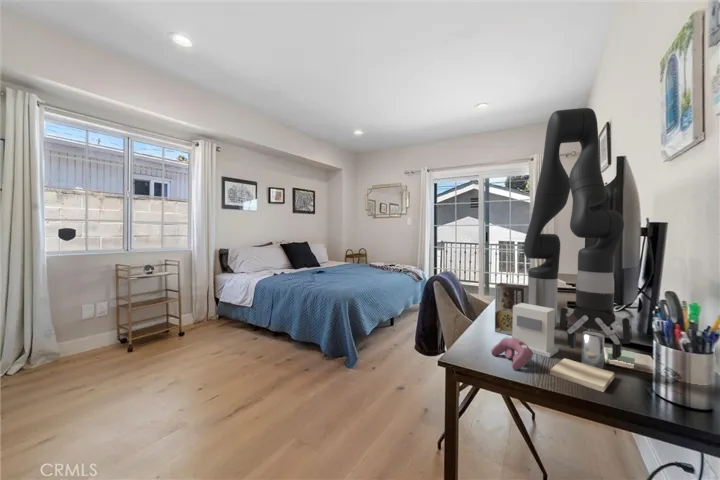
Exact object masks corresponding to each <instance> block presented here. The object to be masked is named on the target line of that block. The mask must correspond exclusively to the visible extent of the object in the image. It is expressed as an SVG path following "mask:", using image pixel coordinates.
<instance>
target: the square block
mask: <svg viewBox="0 0 720 480" xmlns="http://www.w3.org/2000/svg"><path fill="white" fill-rule="evenodd" d="M607 353H608V354H607V360H608V359H610V360H618V361H623V362H626V363H631V364H634V365H635V360H636V359H635V358H636V357H635V352H634V351H629V350H625V349H624V350H621V356H620V357H619V358H617V359H612V347H609V348H608V351H607Z"/></svg>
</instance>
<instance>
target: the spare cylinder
mask: <svg viewBox="0 0 720 480" xmlns="http://www.w3.org/2000/svg"><path fill="white" fill-rule="evenodd" d="M604 360H605V334H602V333H600V332H599V333H598V332H597V331H596V332H594V331H586V330H585V331H582V336H581V363H583V364H586V365H590V366H593V367H597V368H600V369H604V367H605V366H604V365H605V364H604V362H605V361H604Z"/></svg>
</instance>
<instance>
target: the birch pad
mask: <svg viewBox="0 0 720 480" xmlns="http://www.w3.org/2000/svg"><path fill="white" fill-rule="evenodd" d="M549 375H551V376H554V377H557V378H559V379H562V380H566V381H569V382H570V383H573V384H574V383H576V384H578V385H581V386H583V387H586V388H589V389H592V390H595V391H598V392H602V393H604V392H605V391H606V389H608V387H609V386H610V385H611V383H612V381H613V380H614V379H615V372H614V371H610V370H607V369H604V368H603V369H600V368H597V367H593V366H590V365H586V364H583V363H582V362H579V361H574V360H572V359H569V358H565V357H563V359H561V360H560V361H559V362H558V363H556V364H555V365H554V366H553V367H551V368H550V369H549Z"/></svg>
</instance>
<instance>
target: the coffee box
mask: <svg viewBox="0 0 720 480" xmlns="http://www.w3.org/2000/svg"><path fill="white" fill-rule="evenodd" d="M528 294H529V286H528V284H527V285H525V284H518V283H517V284H515V283H507V282H506V283H505V282H499V283H497V284H495V285H494V333H500V334H505V335H509V336H512V328H513V306H514V305H517V304H520V303H525V304H528Z"/></svg>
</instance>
